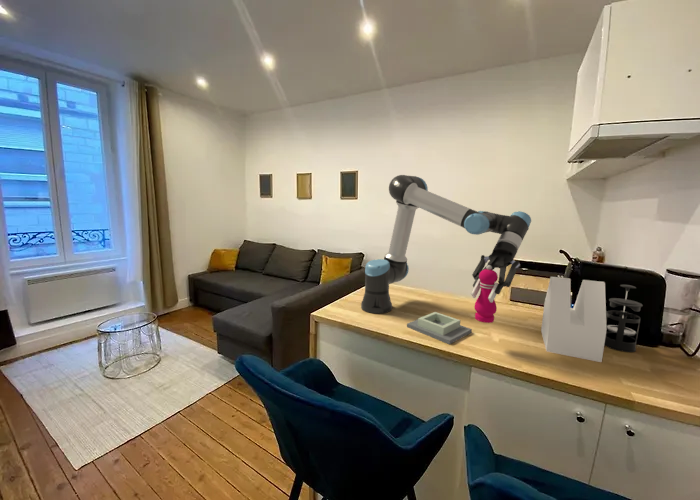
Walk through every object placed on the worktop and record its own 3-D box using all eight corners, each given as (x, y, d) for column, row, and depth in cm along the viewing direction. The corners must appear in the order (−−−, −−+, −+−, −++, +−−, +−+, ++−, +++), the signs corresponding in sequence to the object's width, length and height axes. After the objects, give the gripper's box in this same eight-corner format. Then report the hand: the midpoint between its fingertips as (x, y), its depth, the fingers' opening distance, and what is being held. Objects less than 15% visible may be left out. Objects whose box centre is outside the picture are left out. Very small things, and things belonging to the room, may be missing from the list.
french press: (635, 355, 103) (646, 291, 99) (600, 346, 110) (609, 285, 106) (636, 344, 111) (646, 284, 108) (603, 336, 118) (612, 279, 114)
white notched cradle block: (601, 362, 99) (612, 289, 95) (546, 351, 106) (554, 283, 102) (588, 339, 116) (597, 276, 112) (541, 331, 123) (547, 271, 119)
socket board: (406, 326, 125) (407, 316, 125) (429, 317, 136) (430, 308, 135) (449, 344, 110) (450, 332, 110) (471, 332, 120) (472, 322, 120)
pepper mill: (469, 315, 111) (474, 263, 107) (488, 315, 111) (493, 262, 108) (479, 323, 104) (484, 267, 100) (499, 323, 104) (505, 267, 101)
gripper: (536, 257, 106) (511, 311, 99) (485, 249, 120) (460, 296, 113) (532, 243, 102) (506, 299, 95) (480, 237, 116) (453, 285, 108)
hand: (481, 297), depth 104 cm, fingers closed on pepper mill, 5 cm apart
